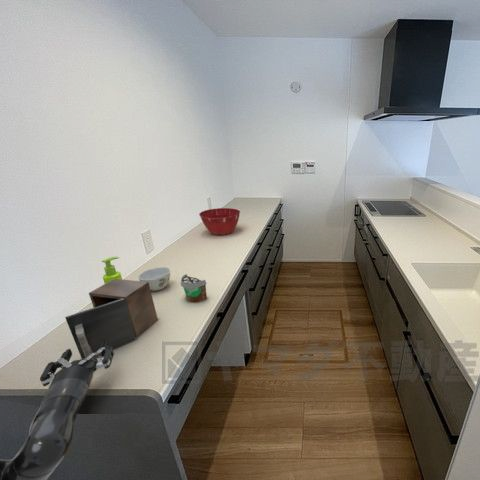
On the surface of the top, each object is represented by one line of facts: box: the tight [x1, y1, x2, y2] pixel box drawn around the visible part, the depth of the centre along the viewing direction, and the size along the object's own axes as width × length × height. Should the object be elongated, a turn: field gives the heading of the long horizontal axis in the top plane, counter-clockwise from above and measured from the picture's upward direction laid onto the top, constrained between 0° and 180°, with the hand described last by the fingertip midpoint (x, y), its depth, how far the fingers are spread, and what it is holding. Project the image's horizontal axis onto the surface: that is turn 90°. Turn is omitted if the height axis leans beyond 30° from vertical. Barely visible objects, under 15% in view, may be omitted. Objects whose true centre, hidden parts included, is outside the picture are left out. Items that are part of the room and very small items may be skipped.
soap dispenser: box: [101, 256, 123, 284], centre depth 109 cm, size 6×7×20 cm
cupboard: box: [88, 278, 159, 339], centre depth 94 cm, size 10×14×17 cm
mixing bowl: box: [199, 207, 241, 236], centre depth 195 cm, size 28×28×16 cm
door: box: [65, 298, 137, 360], centre depth 82 cm, size 6×14×17 cm, turn 135°
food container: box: [180, 273, 208, 303], centre depth 113 cm, size 12×6×10 cm, turn 65°
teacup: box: [137, 266, 171, 292], centre depth 121 cm, size 15×12×8 cm
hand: (87, 346), depth 77 cm, fingers open, 7 cm apart
